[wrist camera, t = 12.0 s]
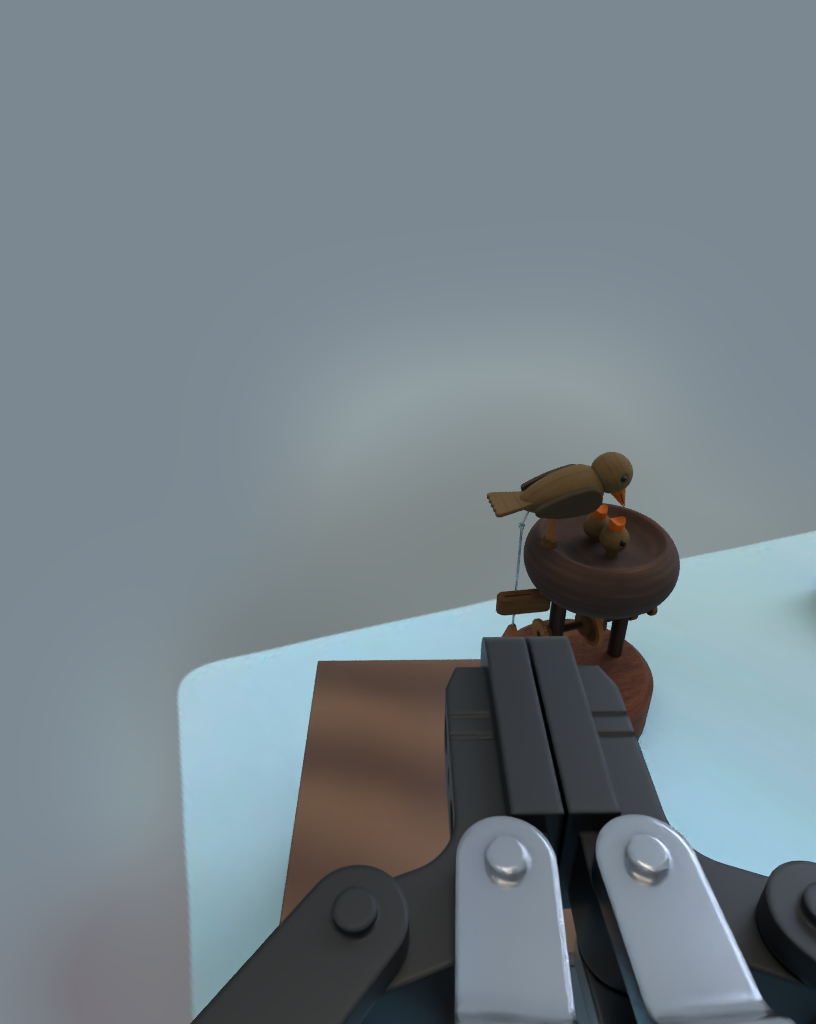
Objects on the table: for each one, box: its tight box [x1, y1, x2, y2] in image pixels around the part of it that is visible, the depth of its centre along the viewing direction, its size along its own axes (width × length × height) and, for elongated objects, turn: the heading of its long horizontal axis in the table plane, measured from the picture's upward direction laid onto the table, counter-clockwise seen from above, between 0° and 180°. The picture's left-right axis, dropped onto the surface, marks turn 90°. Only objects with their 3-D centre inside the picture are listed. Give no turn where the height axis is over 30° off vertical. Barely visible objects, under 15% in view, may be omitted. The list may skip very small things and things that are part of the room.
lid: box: [279, 659, 576, 965], centre depth 30 cm, size 14×13×1 cm
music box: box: [487, 452, 680, 740], centre depth 45 cm, size 15×11×20 cm
